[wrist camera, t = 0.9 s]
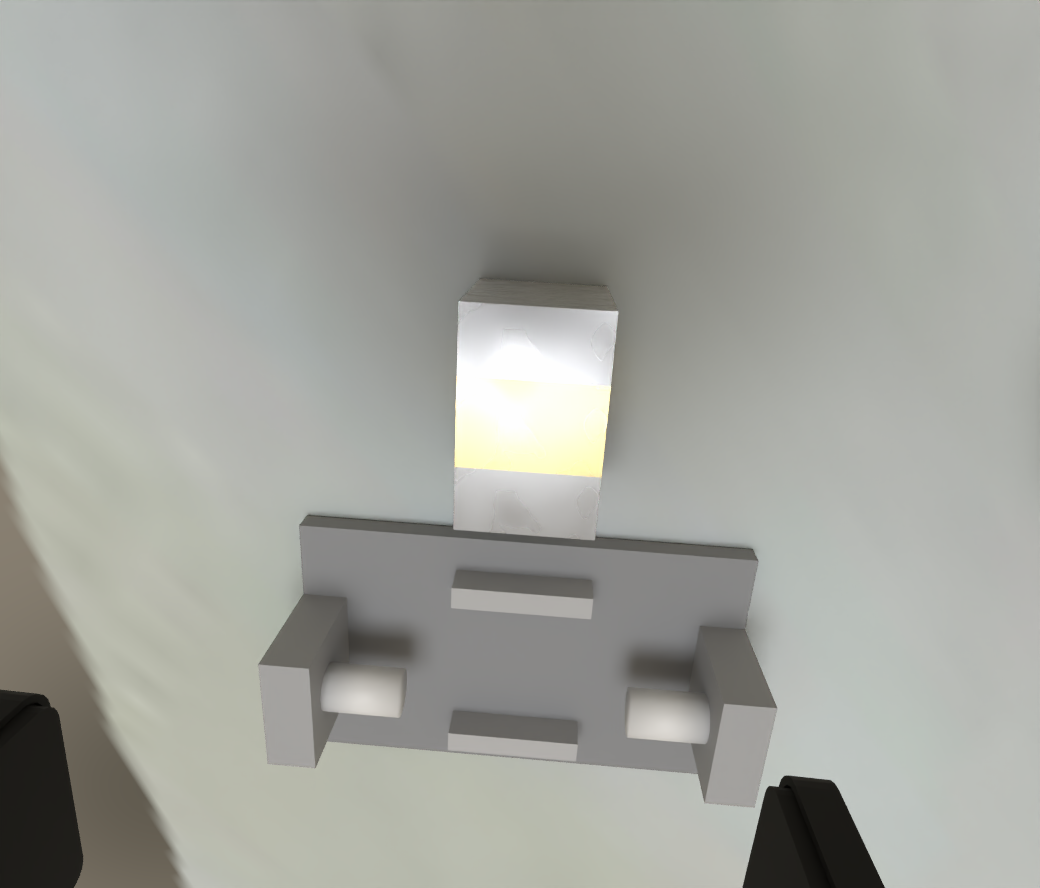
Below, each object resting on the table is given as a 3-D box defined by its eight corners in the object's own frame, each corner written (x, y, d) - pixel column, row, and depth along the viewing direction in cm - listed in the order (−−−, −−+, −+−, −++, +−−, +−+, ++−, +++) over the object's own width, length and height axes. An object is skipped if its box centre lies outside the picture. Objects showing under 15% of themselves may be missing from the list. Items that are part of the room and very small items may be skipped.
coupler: (480, 278, 27) (458, 301, 22) (607, 286, 27) (618, 311, 21) (473, 465, 30) (453, 529, 24) (588, 474, 30) (595, 540, 24)
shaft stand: (319, 725, 35) (273, 826, 30) (307, 515, 31) (250, 587, 26) (711, 759, 35) (740, 869, 29) (752, 549, 30) (795, 630, 25)
